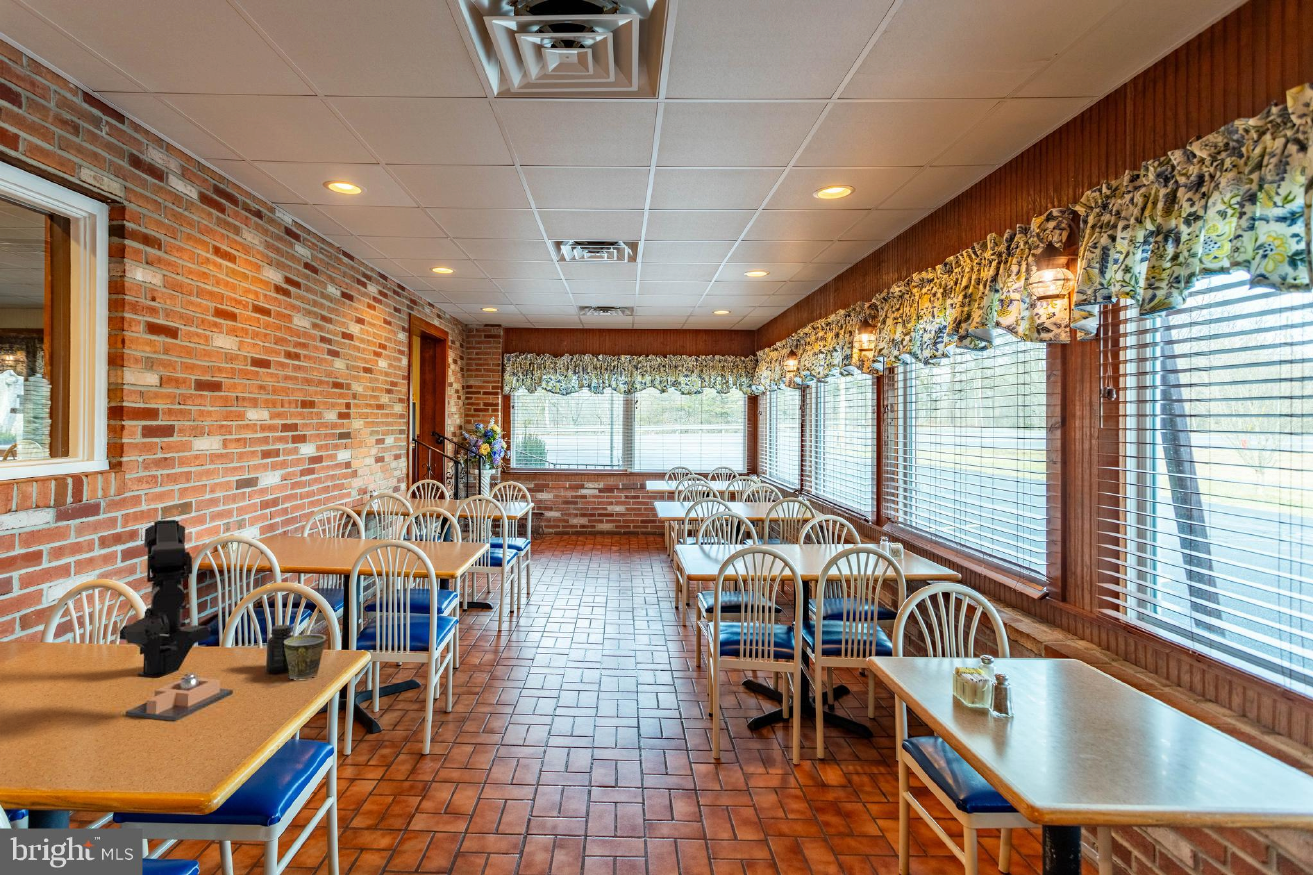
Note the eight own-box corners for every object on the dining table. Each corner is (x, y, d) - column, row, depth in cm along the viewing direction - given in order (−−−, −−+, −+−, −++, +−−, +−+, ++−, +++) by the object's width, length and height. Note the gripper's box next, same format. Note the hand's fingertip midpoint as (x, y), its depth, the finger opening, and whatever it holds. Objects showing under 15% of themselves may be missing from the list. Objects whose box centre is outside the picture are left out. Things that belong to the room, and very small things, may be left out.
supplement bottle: (300, 666, 179) (301, 624, 179) (283, 675, 172) (285, 631, 173) (277, 665, 180) (278, 622, 180) (259, 673, 173) (261, 629, 173)
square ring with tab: (133, 711, 145) (134, 698, 145) (187, 688, 159) (188, 676, 159) (168, 715, 144) (169, 702, 144) (219, 691, 158) (220, 679, 158)
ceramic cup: (286, 671, 175) (287, 635, 175) (327, 668, 179) (328, 632, 179) (276, 689, 163) (278, 650, 163) (320, 685, 167) (321, 646, 167)
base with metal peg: (125, 715, 145) (126, 688, 145) (186, 689, 161) (187, 664, 161) (175, 721, 144) (176, 692, 144) (232, 693, 159) (233, 668, 159)
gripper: (96, 608, 141) (93, 678, 141) (170, 614, 138) (168, 686, 138) (144, 596, 152) (141, 662, 152) (213, 601, 149) (210, 668, 149)
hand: (164, 669), depth 147 cm, fingers open, 6 cm apart
